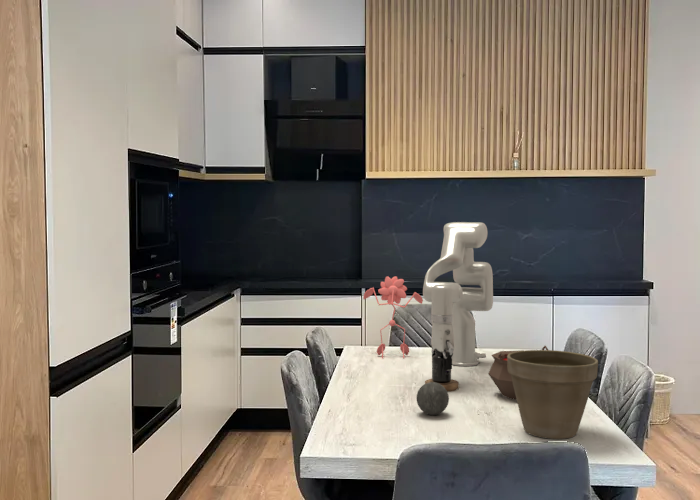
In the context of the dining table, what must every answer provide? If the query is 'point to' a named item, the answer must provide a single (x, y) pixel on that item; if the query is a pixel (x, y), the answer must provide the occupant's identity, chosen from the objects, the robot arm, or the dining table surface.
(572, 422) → the plant pot
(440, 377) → the supplement bottle
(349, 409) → the dining table surface
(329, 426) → the dining table surface
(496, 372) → the brown faceted vessel
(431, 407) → the decorative ball
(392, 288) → the figurine
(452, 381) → the stand
